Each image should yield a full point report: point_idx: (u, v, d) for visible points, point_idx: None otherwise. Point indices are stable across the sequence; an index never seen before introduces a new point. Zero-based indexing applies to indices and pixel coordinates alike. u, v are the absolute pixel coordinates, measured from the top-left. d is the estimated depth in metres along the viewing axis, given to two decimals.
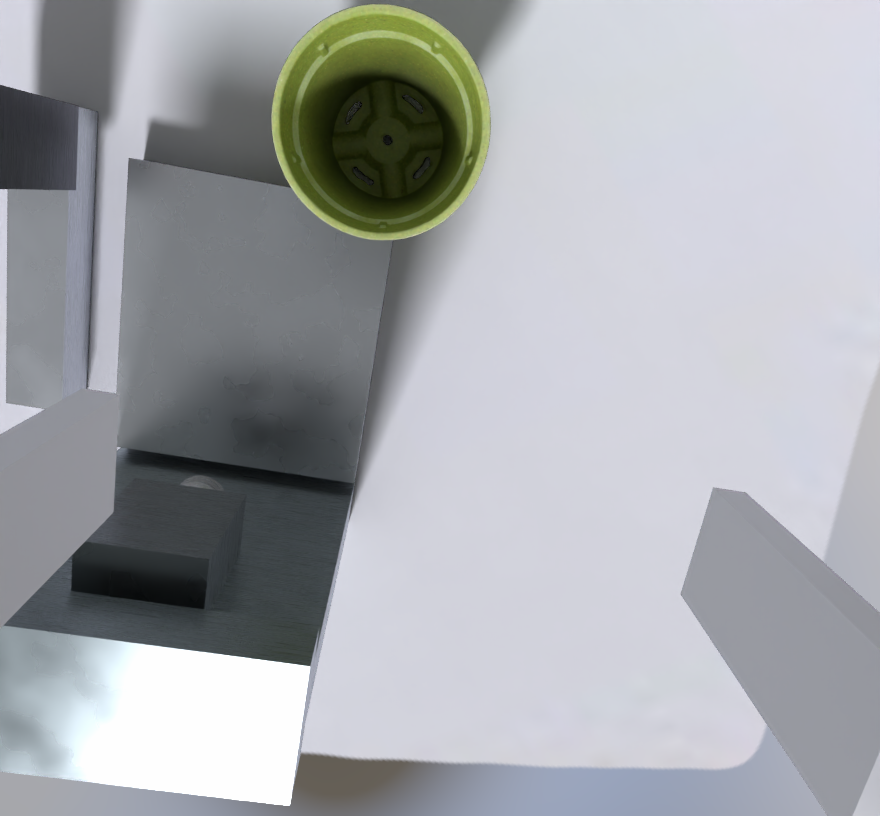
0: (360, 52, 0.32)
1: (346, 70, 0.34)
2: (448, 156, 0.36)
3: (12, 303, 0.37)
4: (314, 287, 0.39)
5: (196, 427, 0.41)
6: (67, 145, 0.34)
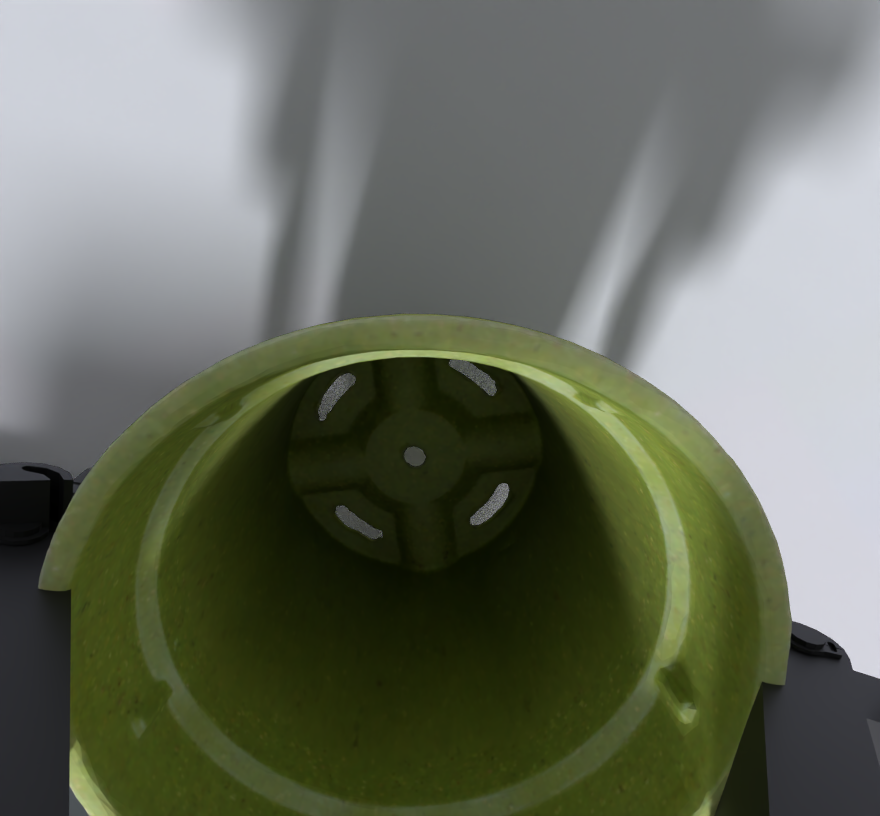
0: None
1: None
2: (567, 534, 0.15)
3: None
4: None
5: None
6: None
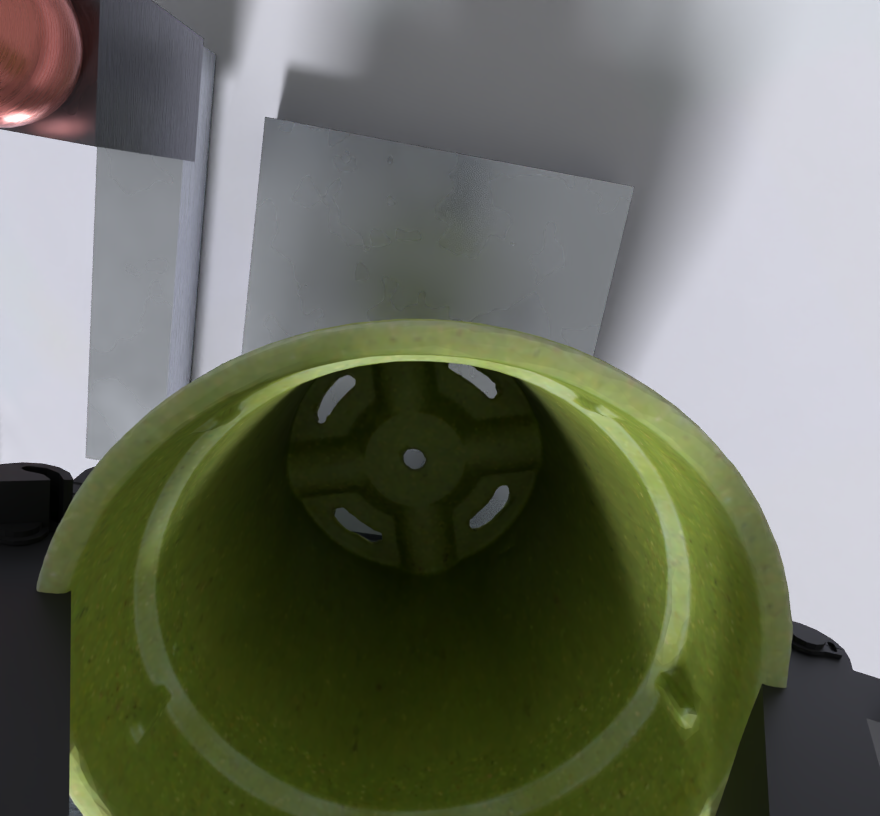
0: None
1: None
2: (567, 537, 0.15)
3: (98, 322, 0.27)
4: (511, 298, 0.28)
5: None
6: (189, 94, 0.23)
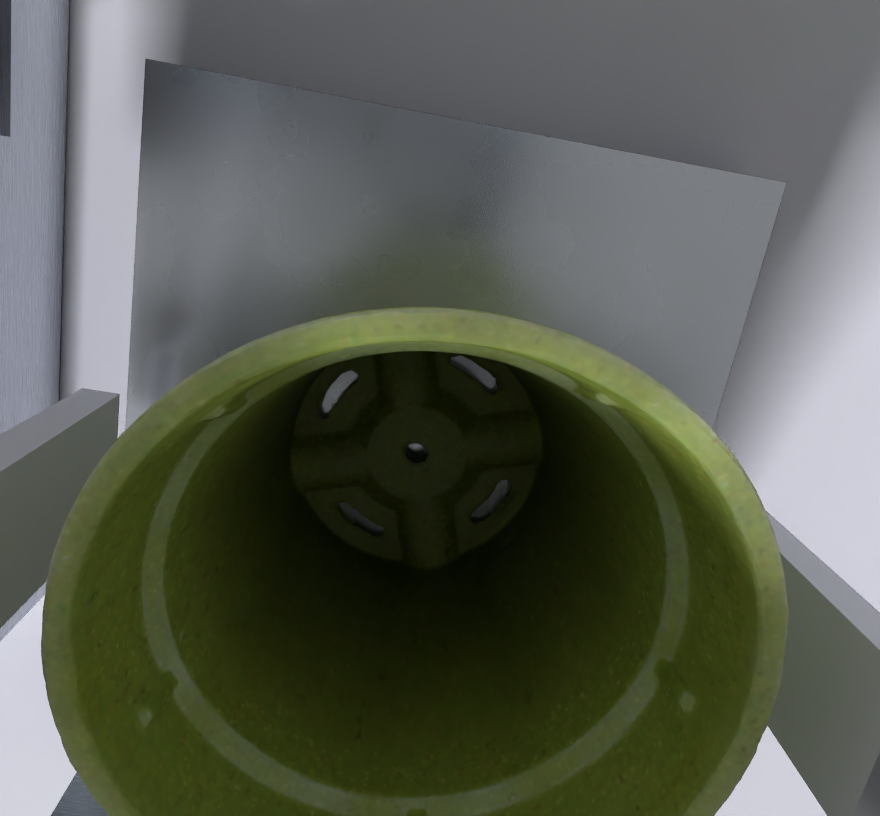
0: None
1: None
2: (567, 530, 0.15)
3: None
4: None
5: None
6: None
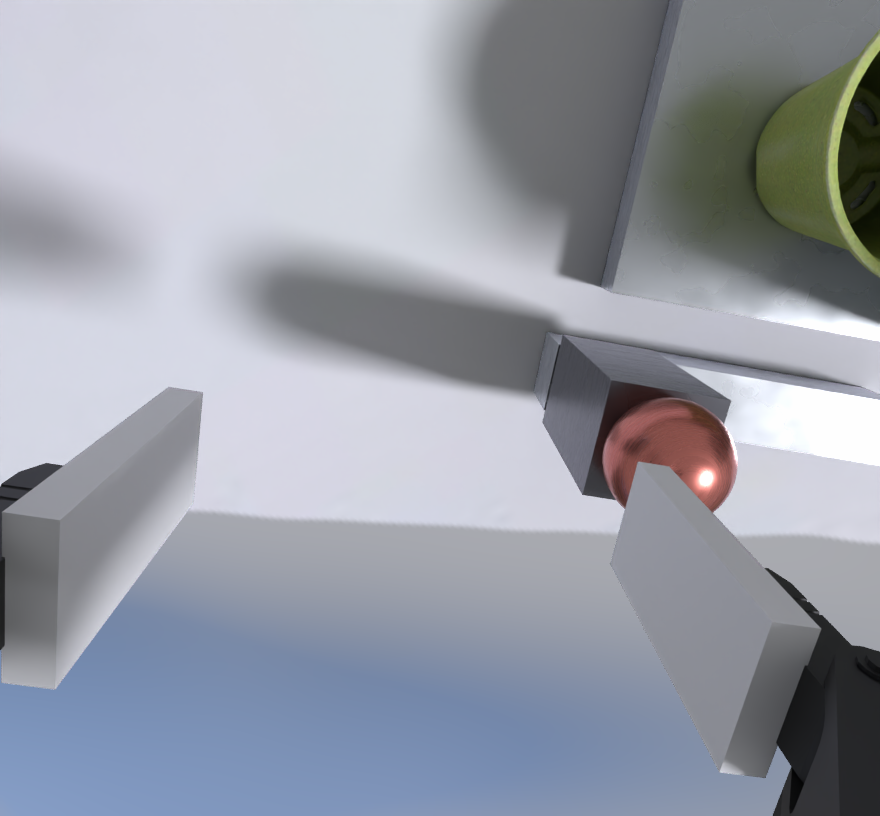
0: None
1: None
2: None
3: (767, 440, 0.32)
4: (791, 63, 0.29)
5: None
6: (612, 347, 0.29)
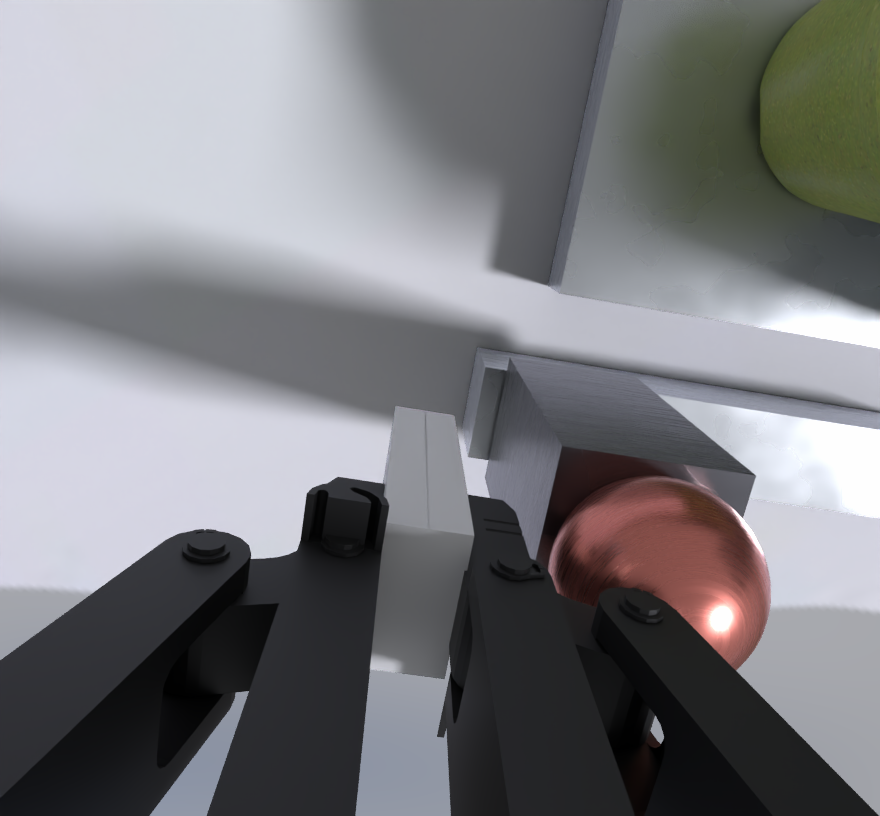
0: None
1: None
2: None
3: (776, 494, 0.23)
4: None
5: None
6: (577, 375, 0.21)
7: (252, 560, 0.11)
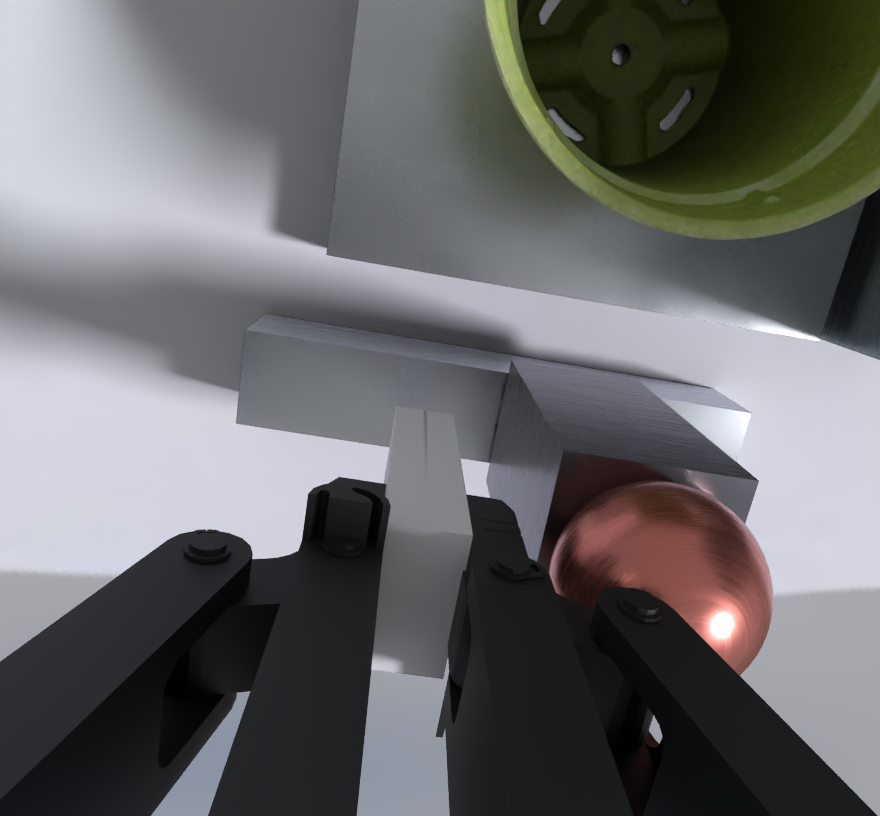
0: None
1: None
2: None
3: None
4: None
5: None
6: (580, 378, 0.20)
7: (254, 560, 0.11)
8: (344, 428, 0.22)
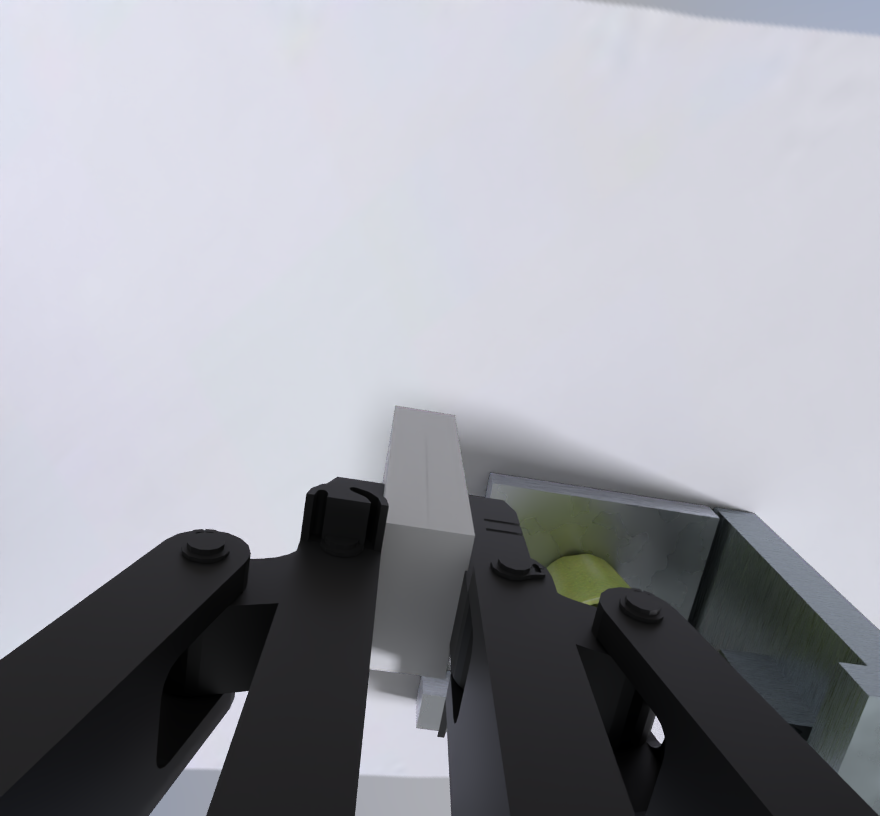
0: None
1: None
2: None
3: None
4: (552, 544, 0.49)
5: None
6: None
7: (252, 560, 0.11)
8: None
